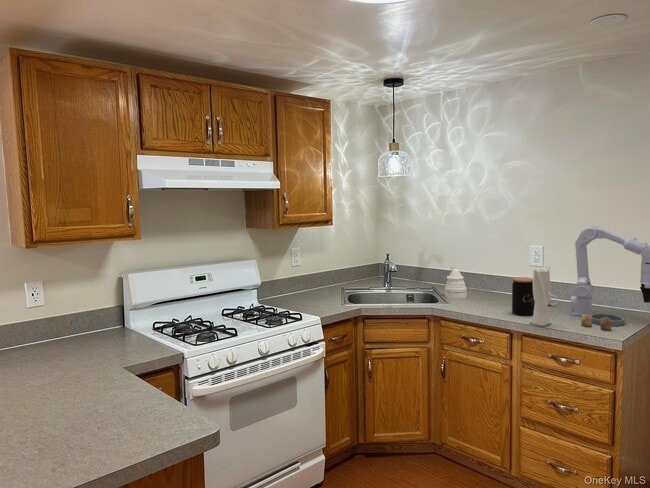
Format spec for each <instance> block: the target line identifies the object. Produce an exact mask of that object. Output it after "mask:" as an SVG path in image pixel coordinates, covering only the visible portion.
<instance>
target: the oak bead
mask: <svg viewBox="0 0 650 488" xmlns="http://www.w3.org/2000/svg"><path fill="white" fill-rule="evenodd" d="M591 318H592V316H591V315H588V314H582V316H581V323H580V324H581V325H580V326H581V327H583V328H592V323H591Z"/></svg>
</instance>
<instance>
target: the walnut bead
mask: <svg viewBox="0 0 650 488" xmlns="http://www.w3.org/2000/svg"><path fill="white" fill-rule="evenodd" d="M600 330H601V331H603V332H611V330H612V326H611V319H610V318H601V325H600Z"/></svg>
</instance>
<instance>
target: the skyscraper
mask: <svg viewBox="0 0 650 488" xmlns="http://www.w3.org/2000/svg"><path fill="white" fill-rule="evenodd" d="M547 269H548V270H547ZM550 269H551V268H550V265H546V267H544V268H543V267H540V268H538V269H537V268H534V269H533V276H532V278H533V296H534V301H535V306H534V313H533V315H532V321H531V322H529V325H533V326H537V327H541V328H542V327H543V328H544V327H546V326H547V327H548V326H550V325H552V323H551V322H550V317H549V315H550V314H549V308H548V306H549V305H547V301H548V297H549V292H551V291H550V290H551V274H550Z"/></svg>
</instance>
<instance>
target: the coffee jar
mask: <svg viewBox="0 0 650 488" xmlns="http://www.w3.org/2000/svg"><path fill="white" fill-rule="evenodd" d="M511 285H512V288H511V289H512V290H511V292H512V293H511V295H512V296H511V304H512V305H511V312H512V313H513V315H515V314H516V316H521V317H528V316H529V317H530V316H533V313H534V306H535V301H534V296H533V277H528V276H527V277H526V276H523V277H522V276H519V277H518V276H517V277H512V284H511Z"/></svg>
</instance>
